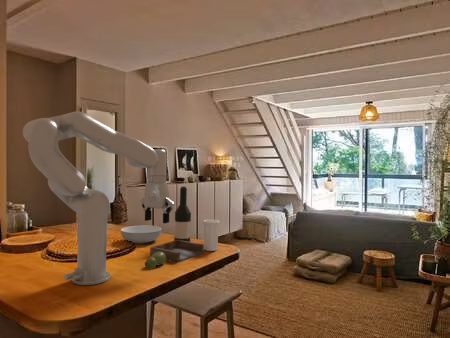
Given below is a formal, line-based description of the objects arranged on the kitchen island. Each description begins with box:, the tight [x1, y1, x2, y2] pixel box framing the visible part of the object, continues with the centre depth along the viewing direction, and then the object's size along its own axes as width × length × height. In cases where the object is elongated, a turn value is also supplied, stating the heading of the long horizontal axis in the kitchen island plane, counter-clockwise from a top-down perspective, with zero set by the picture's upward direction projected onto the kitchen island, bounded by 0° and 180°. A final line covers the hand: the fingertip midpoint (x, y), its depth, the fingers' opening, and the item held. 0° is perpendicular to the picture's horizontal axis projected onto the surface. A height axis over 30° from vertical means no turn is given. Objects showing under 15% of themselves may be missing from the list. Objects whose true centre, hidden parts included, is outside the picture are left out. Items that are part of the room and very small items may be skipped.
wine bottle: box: [173, 186, 192, 242], centre depth 170 cm, size 8×8×30 cm
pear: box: [144, 252, 167, 270], centre depth 136 cm, size 6×5×10 cm
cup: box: [202, 219, 221, 252], centre depth 163 cm, size 8×8×14 cm
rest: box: [149, 240, 205, 263], centre depth 153 cm, size 19×16×4 cm
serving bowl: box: [120, 224, 162, 244], centre depth 176 cm, size 21×21×7 cm
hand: (156, 221), depth 136 cm, fingers open, 9 cm apart
